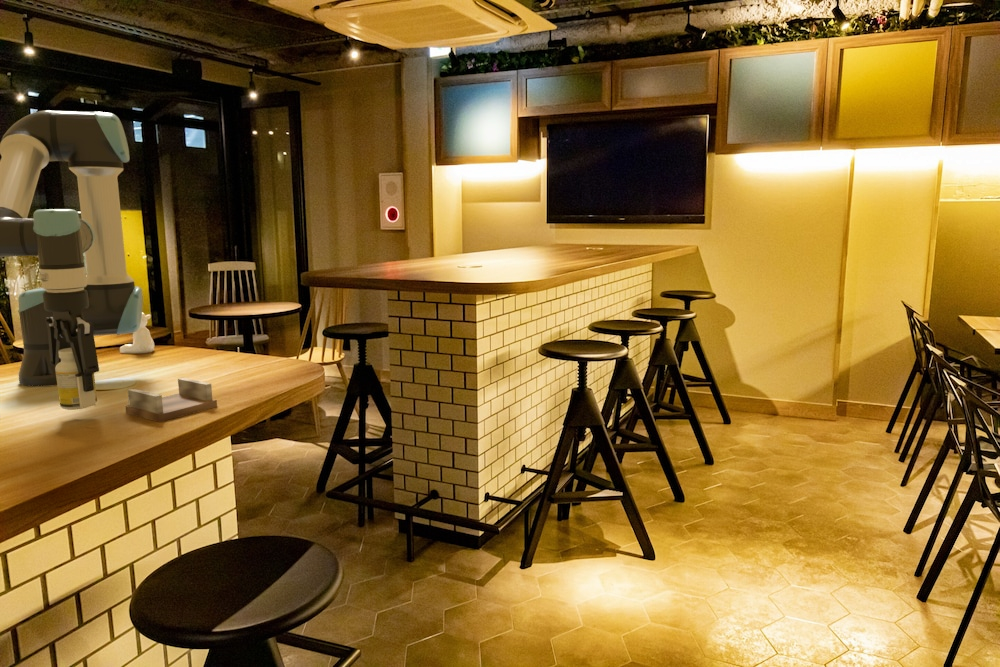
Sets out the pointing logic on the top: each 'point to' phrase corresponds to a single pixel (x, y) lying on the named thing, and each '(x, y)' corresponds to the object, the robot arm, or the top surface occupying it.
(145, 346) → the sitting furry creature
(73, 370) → the pill bottle
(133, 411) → the slot cradle
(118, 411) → the top surface
